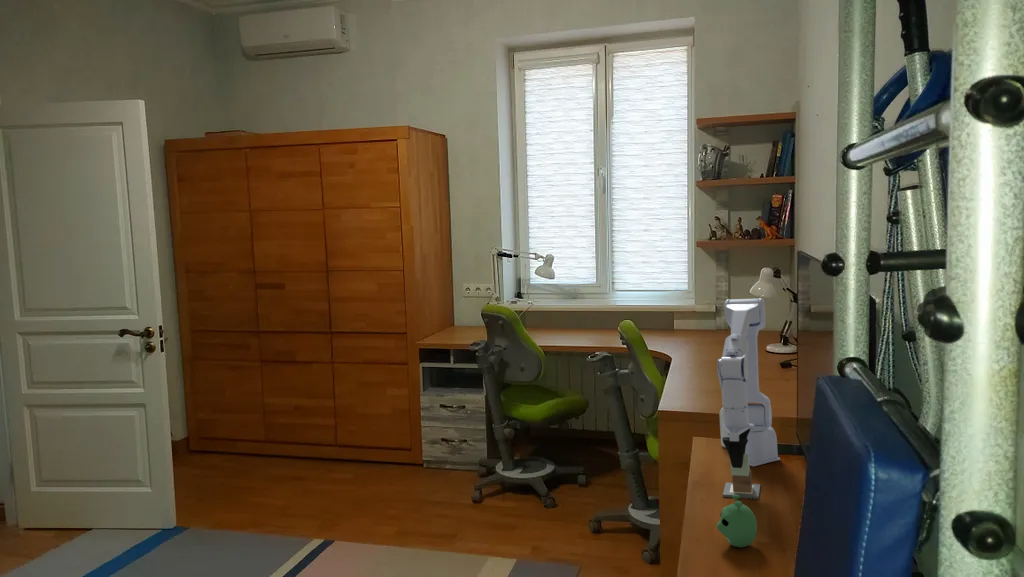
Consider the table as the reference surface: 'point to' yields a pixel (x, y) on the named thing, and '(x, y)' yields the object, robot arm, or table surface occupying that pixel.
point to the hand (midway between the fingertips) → (738, 462)
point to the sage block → (745, 467)
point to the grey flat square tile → (754, 492)
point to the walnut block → (742, 483)
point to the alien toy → (738, 524)
